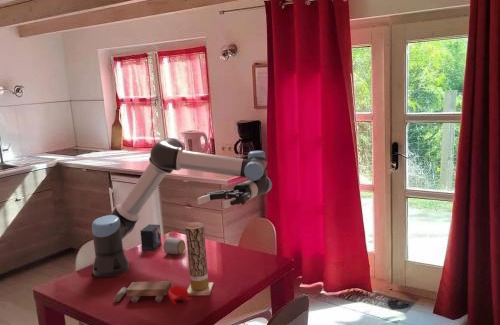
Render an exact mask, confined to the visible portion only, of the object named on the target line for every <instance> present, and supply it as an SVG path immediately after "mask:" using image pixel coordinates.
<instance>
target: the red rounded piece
mask: <svg viewBox="0 0 500 325" xmlns="http://www.w3.org/2000/svg"><path fill="white" fill-rule="evenodd" d="M167 295H168V297H169V299H170V301H171V302H172V303H173V305H174V306H177V300H179V299H180V298H184V299H185V300H187V302H190V297H189V296H188V292H187V289H186V288H185V287H183V286H178V285H174V286H171V288H170V289H169V292H168V294H167Z"/></svg>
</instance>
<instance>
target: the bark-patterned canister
mask: <svg viewBox="0 0 500 325" xmlns="http://www.w3.org/2000/svg"><path fill="white" fill-rule="evenodd" d="M205 237H206V236H205V225H204V222H199V221H195V222H188V223H187V224H185V238H186V249H187V259H188V269H189V270H188V272H189V279H190V280H189V282H190V283H191V288H192V289H193V290H196V291H200V290H204V289H206V288H207V287H208V285H209V284H208V283H209V275H208V260H207V259H208V258H207V248H206V238H205Z"/></svg>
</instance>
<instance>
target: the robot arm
mask: <svg viewBox="0 0 500 325" xmlns="http://www.w3.org/2000/svg"><path fill="white" fill-rule="evenodd" d="M149 155H150V157H149V158H148V161H149V164H148V165H147V167H146V168H145V169H144V172H142V174H141V176H140V177H139V179H138V180H137V182H136V183H135V184H134V186H133V187H132V188H131V190H130V192H129V193H128V194H127V196H126V197H125V199H124V200H123V202H122V203H119V204H117V205H116V206H115V207H114V209H113V210H112V212H111V213H110V214H108V215H102V216H101V217H98V218H95V219H94V220H93V222H92V224H91V232H92V238H93V246H94V247H93V248H94V254H95V255H94V260H93V266H92V272H93V274H92V275H93V276H94V277H97V278H111V277H116V276H119V275H122V274H124V273H126V272H127V271H128V270H129V269H130V264H129V261H128V259H127V257H126V255H125V253H124V246H123V239H124V238H125V237H127V236H128V235H129V234H130V233H131V232H132V231H133V230H134V229H135V226H136V224H137V222H138V220H139V219H140V216H139V213H141V210H143V208H144V207H145V205H146V204H147V202H148V201H149V200H150V197H151V196H152V195H153V193H154V192H155V191H156V189H158V186H159V185H160V183H161V182H162V180H163V179H164V178H165V177H166V175H167V174H171V173H172V172H173V171H180V170H181V169H182V170H189V171H197V172H203V173H210V174H211V173H212V174H218V175H226V176H233V177H241V178H246V179H247V180H246V181H244V182H242V183H241V182H240V183H238V184H236V185H234V186H233V187H232V189H230V190H227V189H223V190H217V191H212V192H205V193H204V195H203V196H200V197H197V198H196V199H197V205H198V206H200V205H202V204H206V203H210V202H211V201H216V200H224V201H222V204H223V209H228V208H231V207H234V206H236V205H240V204H241V205H243V206H244V205H245V204H246V203H247V201H250V200H251V199H254V198H255V197H256V198H257V197H258V196H262V195H265V194H267V193H268V192H270V191H271V190H272V186H273V183H272V180H271V179H270V178H269V177H268V176H267V163H266V162H267V160H266V159H267V158H266V152H265V151H263V150H252V151H249V152H248V154H247V158H241V157H240V158H239V157H232V156H226V155H219V154H211V153H205V152H197V151H191V150H185V146H184V143H182V141H181V140H180V139H178V138H175V137H167V138H164V139H163V140H161V141H158V142H156V143H155V144H154V145H153V146H152V147H151V149H150V154H149Z"/></svg>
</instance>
